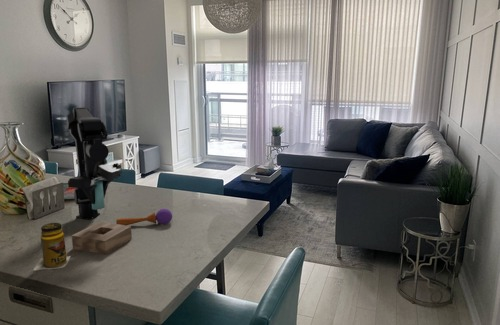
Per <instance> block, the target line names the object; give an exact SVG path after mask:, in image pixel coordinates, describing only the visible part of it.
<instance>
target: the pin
mask: <svg viewBox="0 0 500 325" xmlns="http://www.w3.org/2000/svg"><path fill="white" fill-rule="evenodd" d="M94 184H96V185H97V187H96V188H95V204H92V209H95V210H97V209H98V210H102V209H105V207H106V205H105V198H104V193H103V182H102V181H94Z"/></svg>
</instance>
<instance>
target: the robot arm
mask: <svg viewBox="0 0 500 325" xmlns="http://www.w3.org/2000/svg"><path fill="white" fill-rule="evenodd" d="M66 128H67V130H68V131H69V135H70V136H71V137H72V138H73V140H74V142H75V153H76V159H77V160H76V161H77V167H78V168H77V170H78V176H77V175H76V176H74V177H71V178H69V179H68V180H67V186H68V188H73V189H74V192H73V193H74V194H73V199H74V203H75V204H76V205H77V206H78V215H77V216H76V218H77V219H83V220H91V219H93V218H96V217H98V216H100V215H101V213H100V212H99V211H98V210H99V209H97V210H95V209H92V204H95V188H96V187H97V185H96V184H94V181H102V182H103V193H104V199H105V197H106V193H107V190H108V188H109V184H111V182H113V181H114V180H115V179H116V180H118V178H119V177H121V174H122V173H123V172H122V165H121V163H119V162H115V163H113V164H109V163H108V160H107V158H108V156H109V148H108V146H107V145H106V144H104V143H103V141H105V140H106V141H107V140H108V130H107V127H106V124H104V122H103V121H102V119H101V118H99V117H94V116H93V115H92V114H91V113H90V110H89V108H88V107H86V106H85V107H84V106H83V107H73V108H72V112H70V113H69V114H67V115H66Z"/></svg>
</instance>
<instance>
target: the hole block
mask: <svg viewBox="0 0 500 325" xmlns="http://www.w3.org/2000/svg"><path fill="white" fill-rule="evenodd" d="M132 235H133V234H132V226H131V225H119V224H116V223H112V222H104V221H98V222H96V223H94V224H93V225H90V226H88V227H86V228H84V229H82V230H80V231H78V232H76V233H74V234H72V235H71V242H72V244H71V245H72V250H73V249H74V250H79V251H84V252H90V253H94V254H100V255H108V254H110V253H111V252H112V251H114V250H116V249H118V248H119V247H121V246H122V245H124V244H125V243H127V242H129V241H130V240H132V239H133V236H132Z"/></svg>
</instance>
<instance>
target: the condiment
mask: <svg viewBox="0 0 500 325" xmlns="http://www.w3.org/2000/svg"><path fill="white" fill-rule="evenodd" d="M40 230H41V235H40V241H41V242H40V243H41V250H42V257H41V258H39V261H38V262H37V264H36V265H35V267H34V268H33V269H32V271H40V270H41V271H42V270H56V269H63V268H66V266H67V264H68V263H69V260H70V259H71V255H69V256H67V251H66V240H65V233H64V232H63V229H62V224H61V223H60V222H50V223H46V224H44V225H42V226H41V228H40Z"/></svg>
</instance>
